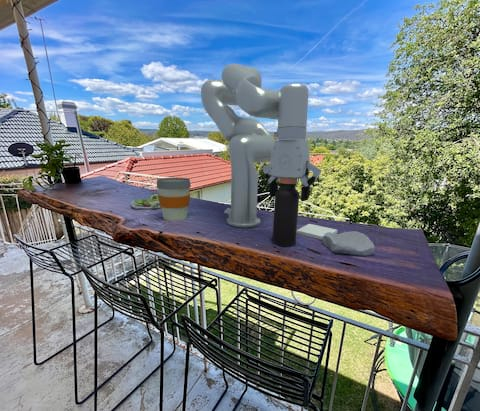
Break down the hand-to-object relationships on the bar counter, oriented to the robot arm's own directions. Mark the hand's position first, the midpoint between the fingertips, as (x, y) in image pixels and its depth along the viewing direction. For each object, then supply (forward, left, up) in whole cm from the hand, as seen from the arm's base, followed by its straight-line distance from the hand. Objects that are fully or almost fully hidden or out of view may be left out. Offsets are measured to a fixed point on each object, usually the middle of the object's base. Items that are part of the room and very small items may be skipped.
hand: (288, 198), depth 68 cm
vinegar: (-1, 0, -14) cm, 14 cm away
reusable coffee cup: (-46, -6, -14) cm, 48 cm away
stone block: (+15, +8, -14) cm, 22 cm away
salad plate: (-72, -1, -14) cm, 73 cm away
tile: (+3, +15, -14) cm, 21 cm away
